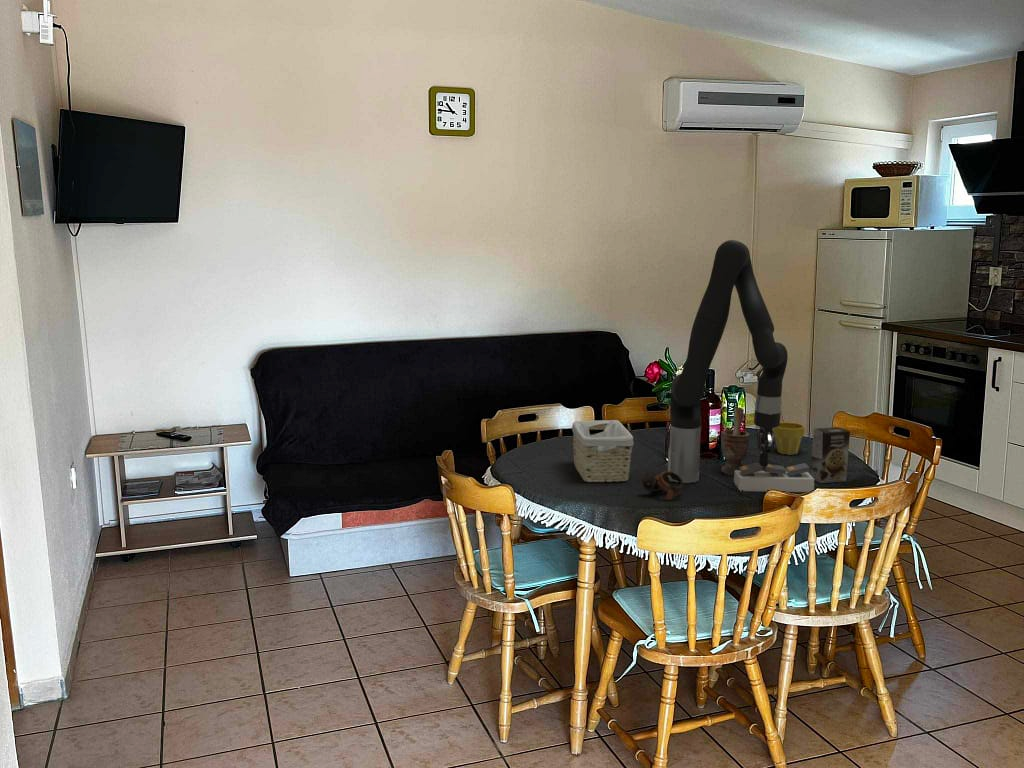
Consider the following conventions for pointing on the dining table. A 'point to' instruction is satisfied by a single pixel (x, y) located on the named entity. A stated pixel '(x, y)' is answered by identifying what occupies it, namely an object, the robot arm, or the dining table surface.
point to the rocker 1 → (750, 468)
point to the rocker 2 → (774, 469)
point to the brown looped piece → (663, 484)
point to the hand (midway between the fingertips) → (763, 465)
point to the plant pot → (788, 437)
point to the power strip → (774, 482)
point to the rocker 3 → (797, 469)
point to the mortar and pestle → (734, 444)
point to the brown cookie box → (830, 454)
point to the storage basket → (602, 450)
